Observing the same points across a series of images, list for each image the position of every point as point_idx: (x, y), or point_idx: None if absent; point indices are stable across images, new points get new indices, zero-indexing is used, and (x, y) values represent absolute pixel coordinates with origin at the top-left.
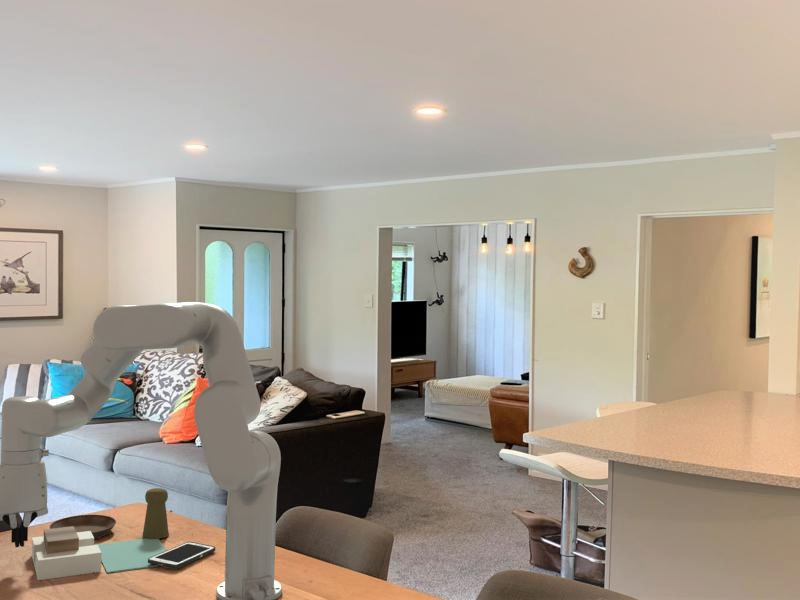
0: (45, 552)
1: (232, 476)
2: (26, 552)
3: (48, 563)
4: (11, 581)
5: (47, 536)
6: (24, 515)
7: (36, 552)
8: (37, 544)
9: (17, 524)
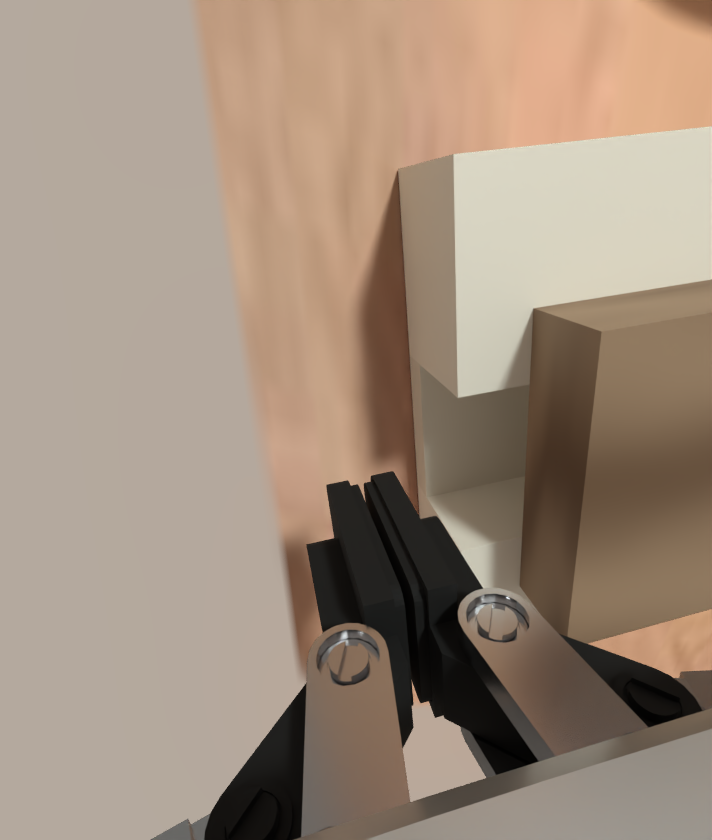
0: (512, 564)
1: None
2: (358, 44)
3: None
4: (309, 589)
5: (587, 545)
6: (521, 719)
7: (463, 556)
8: (482, 388)
9: (402, 733)
